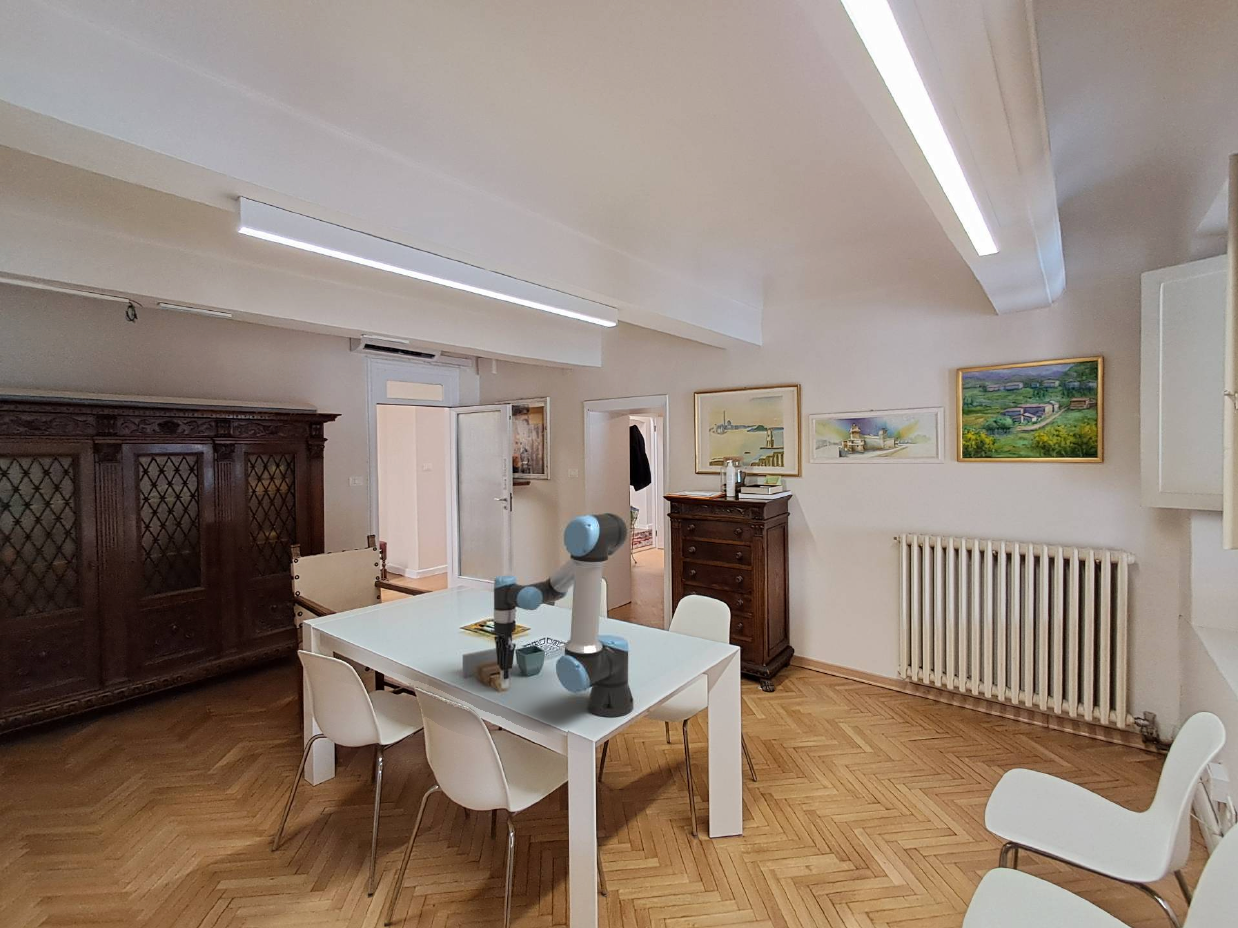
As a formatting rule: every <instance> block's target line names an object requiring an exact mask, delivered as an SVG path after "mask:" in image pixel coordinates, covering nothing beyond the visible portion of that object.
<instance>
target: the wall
mask: <svg viewBox="0 0 1238 928" xmlns="http://www.w3.org/2000/svg"><path fill="white" fill-rule="evenodd" d="M496 660H497V654H496V647H494V648H490V649H485V650H481V651H475V652H469V653H465V654H462V677H463V678H469V677H473V676H477V665H478V664H482V663H487V662H492V661H496Z"/></svg>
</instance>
